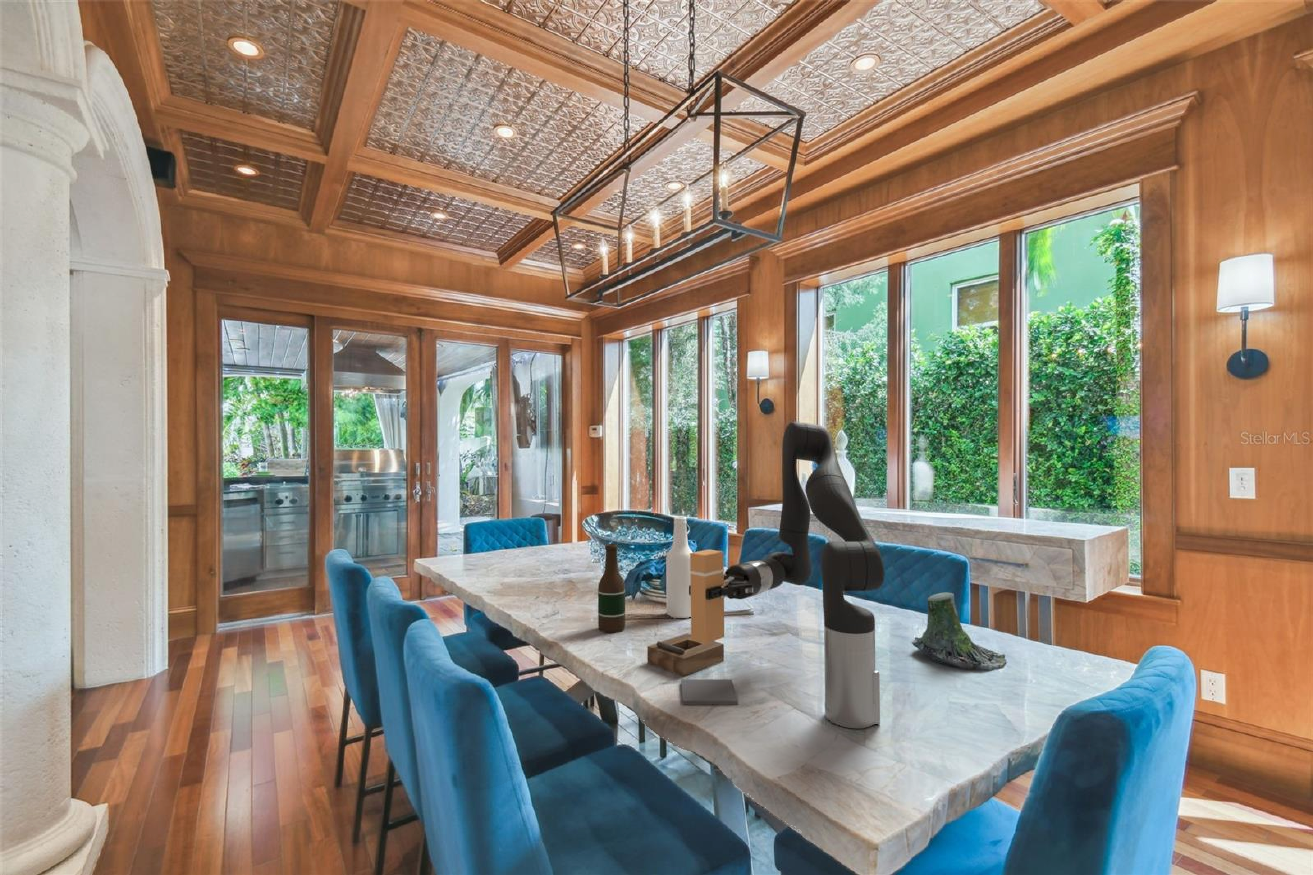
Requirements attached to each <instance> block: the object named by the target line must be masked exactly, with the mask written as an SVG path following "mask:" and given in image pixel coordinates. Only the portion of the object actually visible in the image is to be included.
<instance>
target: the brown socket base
mask: <svg viewBox="0 0 1313 875" xmlns="http://www.w3.org/2000/svg"><path fill="white" fill-rule="evenodd" d="M724 645H725V643H723V642H719V641H716V640H715V641H712V642H710V643H707V644H704V643H701V642H698V641H694V640H691V633H684V634H683V633H682V634H681V635H677V636H675V637H671V638H669V639H665V640H662V641H660V640H658V641H657V642H656V643H653V644H650V645H647V646H646V649H647V654H646V656H647V659H646V660H647V663H648V664H649V665H652V666H655V667H658V668H660V669H662V670H665V671H668V672H671V673H674V674H677V675H680V676H683V677H686V676H689V675H692V674H694V673H696V672H699V671H702V670H704V669H707V668H708V667H711V666H714V665H716V664H718V663H721V662H724V661H725V655H724V654H725V651H724V650H725V646H724Z"/></svg>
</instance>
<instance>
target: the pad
mask: <svg viewBox="0 0 1313 875" xmlns="http://www.w3.org/2000/svg"><path fill="white" fill-rule="evenodd" d="M680 683H681V685H680V686H681V697H682V705H683V706H684V705H685V706H689V705H690V706H693V705H695V706H700V705H701V706H704V705H705V706H707V705H708V706H713V705H712V704H714V705H715V706H716V705H717V704H719V705H720V706H725V705H726V706H728V705H729V706H731V705H732V706H736V705H737V704H738V705H739V700H738V697H737V693H736V689H735V687H734V683H733V679H731V678H730V679H729V678H727V679H726V678H725V679H722V678H721V679H719V678H718V679H712V678H709V679H708V678H707V679H706V678H705V679H701V678H700V679H698V678H697V679H691V678H690V679H685V678H684V679H680ZM722 704H724V705H722ZM719 705H717V706H719Z"/></svg>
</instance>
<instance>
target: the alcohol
mask: <svg viewBox="0 0 1313 875" xmlns="http://www.w3.org/2000/svg"><path fill="white" fill-rule="evenodd" d="M687 527H688V526H687V517H686V516H675V517H673V535H672V536H673V538H672V545H671V548H670V549H669V550H668V552H667V555H666V558H665V569H666V570H665V571H666V573H665V578H666V579H665V580H666V581H665V582H666V583H665V584H666V585H665V586H666V590H665V591H666V595H665V596H666V614H667V616H668V615H670V616H671V617H673V618H672V619H676V618H686V619H690V618H689V617H691V596H690V595H689V586H690V585H691V579H690V553H693V552H694V551H692V549H691V548H690V546H689V541H688V529H687ZM671 617H670V618H671Z"/></svg>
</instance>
